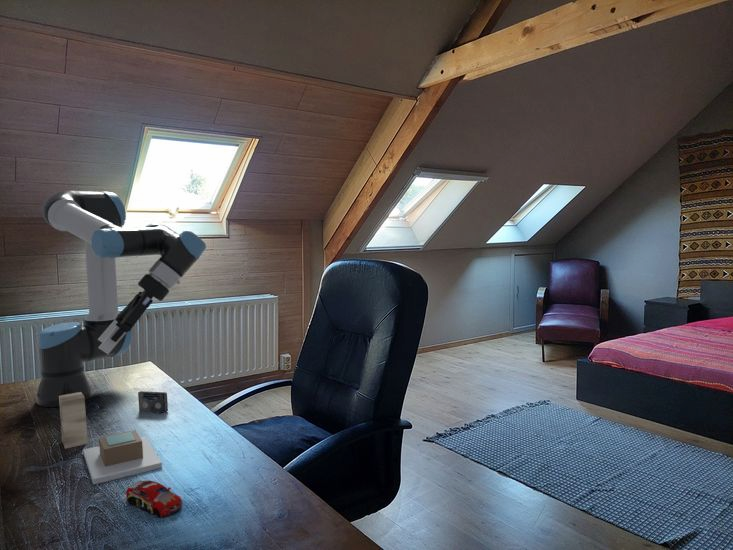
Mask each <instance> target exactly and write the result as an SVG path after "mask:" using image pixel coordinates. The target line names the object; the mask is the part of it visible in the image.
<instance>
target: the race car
mask: <svg viewBox="0 0 733 550" xmlns="http://www.w3.org/2000/svg"><path fill="white" fill-rule="evenodd" d="M125 495H126V497H125V498H126V501H127V503H129V504H130V505H131V504H132V505H131V506H133V505H134V506H133V507H136V508H138V509H141V510H142V511H143V510H144V511H145V512H147V513H148V514H149V513H150V514H151V515H154V516H155V515H156V516H155V517H157V516H158V517H159V518H161V517H166V516H169V515H173V514H175V513H176V512H178V511H180V510H181V508H182V505H183V501H182V500H183V499H182V498H181V497H180V496H179V495H177V494H176V493H174V492H172V491H171V487H167V486H165V485H163V484H161V483H159V482H158V481H153V480H142V481H138V482H135V483H134V484H131V485H130V486H128V488H127V489H126V494H125ZM160 516H161V517H160ZM158 517H157V518H158Z"/></svg>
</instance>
